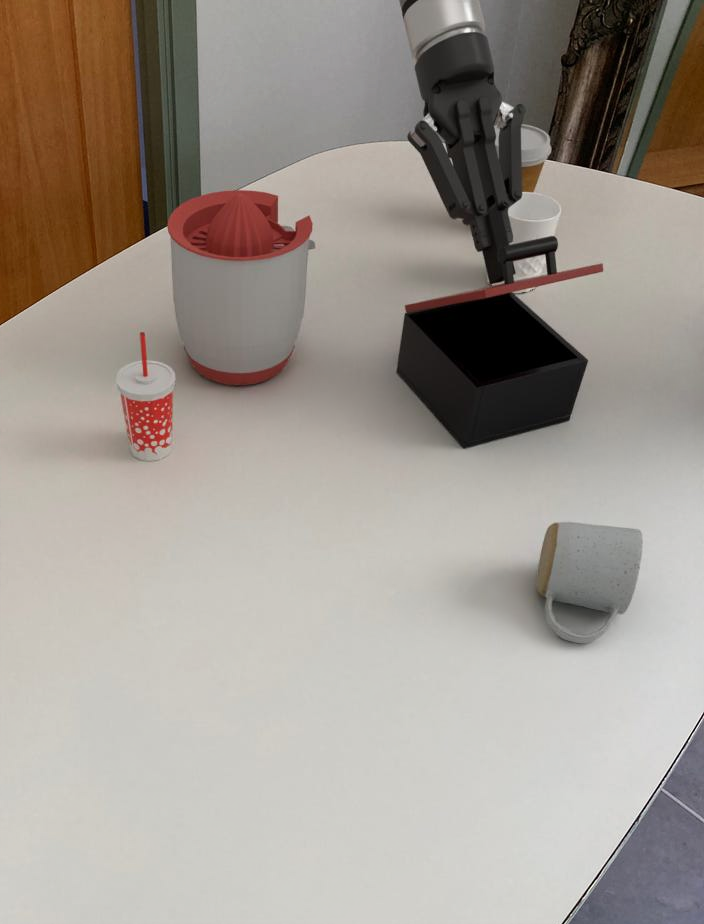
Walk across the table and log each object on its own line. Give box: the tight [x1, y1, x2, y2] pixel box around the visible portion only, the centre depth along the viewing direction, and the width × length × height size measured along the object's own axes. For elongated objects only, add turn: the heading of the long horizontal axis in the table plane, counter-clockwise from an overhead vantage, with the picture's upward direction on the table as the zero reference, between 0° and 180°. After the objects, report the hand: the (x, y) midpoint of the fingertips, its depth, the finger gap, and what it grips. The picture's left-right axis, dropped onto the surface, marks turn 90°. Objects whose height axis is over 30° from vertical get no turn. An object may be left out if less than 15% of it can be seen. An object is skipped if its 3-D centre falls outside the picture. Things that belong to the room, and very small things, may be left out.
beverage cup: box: [115, 331, 176, 462], centre depth 102 cm, size 6×6×14 cm
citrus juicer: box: [166, 189, 316, 387], centre depth 112 cm, size 16×17×20 cm
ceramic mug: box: [535, 521, 644, 644], centre depth 89 cm, size 11×8×8 cm
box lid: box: [404, 235, 604, 313], centre depth 104 cm, size 16×14×4 cm
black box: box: [395, 292, 589, 449], centre depth 111 cm, size 16×14×8 cm
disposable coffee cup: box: [485, 123, 552, 215], centre depth 136 cm, size 10×10×12 cm
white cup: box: [486, 192, 562, 294], centre depth 127 cm, size 8×8×10 cm
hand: (502, 278), depth 103 cm, fingers closed
